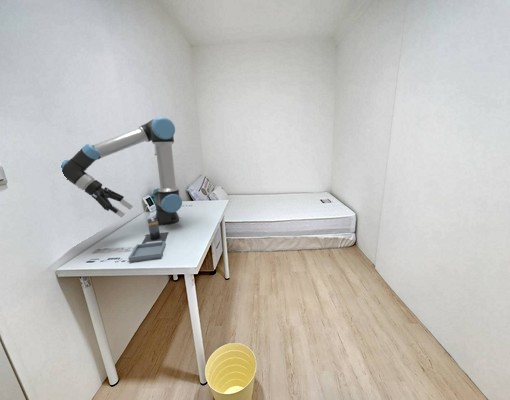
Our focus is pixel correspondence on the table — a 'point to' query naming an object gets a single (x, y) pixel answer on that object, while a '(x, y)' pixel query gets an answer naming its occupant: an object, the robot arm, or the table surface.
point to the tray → (147, 252)
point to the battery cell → (154, 228)
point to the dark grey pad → (148, 240)
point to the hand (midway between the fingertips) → (128, 211)
